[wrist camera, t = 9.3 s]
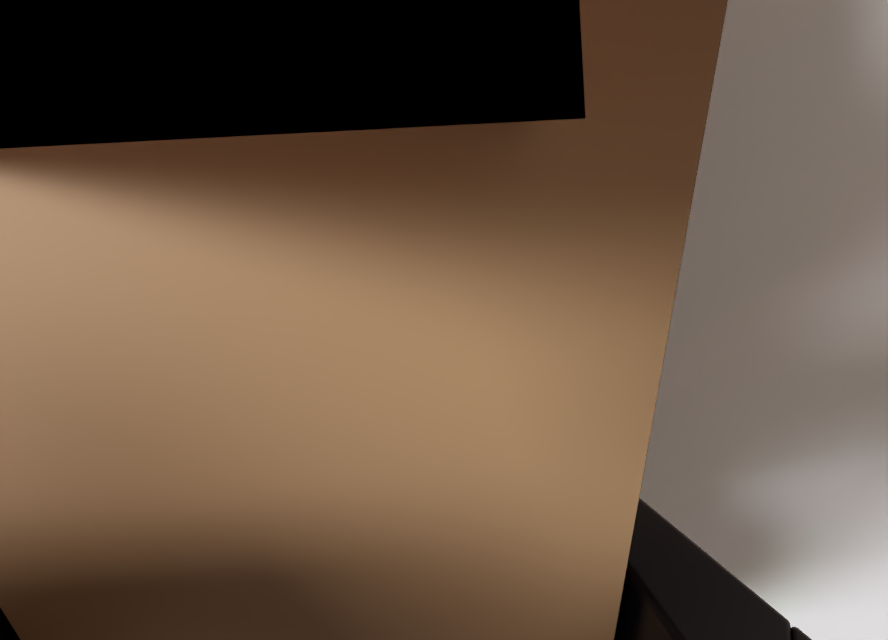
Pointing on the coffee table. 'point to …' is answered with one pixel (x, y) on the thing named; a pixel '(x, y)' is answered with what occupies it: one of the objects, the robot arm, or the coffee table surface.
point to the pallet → (334, 314)
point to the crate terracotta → (557, 103)
